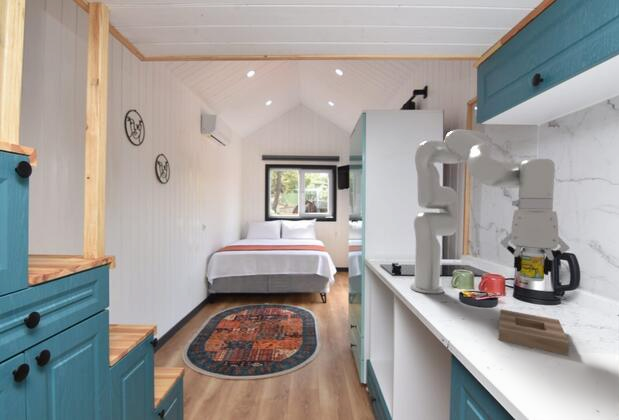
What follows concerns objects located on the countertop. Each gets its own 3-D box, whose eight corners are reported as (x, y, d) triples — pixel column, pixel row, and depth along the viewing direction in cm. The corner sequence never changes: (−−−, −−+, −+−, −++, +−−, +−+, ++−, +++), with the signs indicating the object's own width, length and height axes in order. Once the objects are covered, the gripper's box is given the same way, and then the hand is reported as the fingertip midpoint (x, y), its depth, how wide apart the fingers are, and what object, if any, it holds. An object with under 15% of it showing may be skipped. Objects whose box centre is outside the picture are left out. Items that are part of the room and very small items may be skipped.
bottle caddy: (500, 318, 95) (500, 309, 95) (558, 330, 87) (558, 319, 87) (498, 339, 80) (498, 328, 80) (568, 355, 72) (569, 342, 72)
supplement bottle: (546, 279, 83) (547, 244, 83) (541, 282, 79) (543, 245, 79) (522, 275, 87) (523, 242, 87) (517, 278, 83) (518, 243, 83)
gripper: (497, 204, 84) (494, 270, 85) (579, 206, 75) (575, 280, 75) (498, 204, 91) (495, 266, 91) (574, 206, 81) (570, 274, 82)
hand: (531, 271), depth 83 cm, fingers closed on supplement bottle, 5 cm apart
